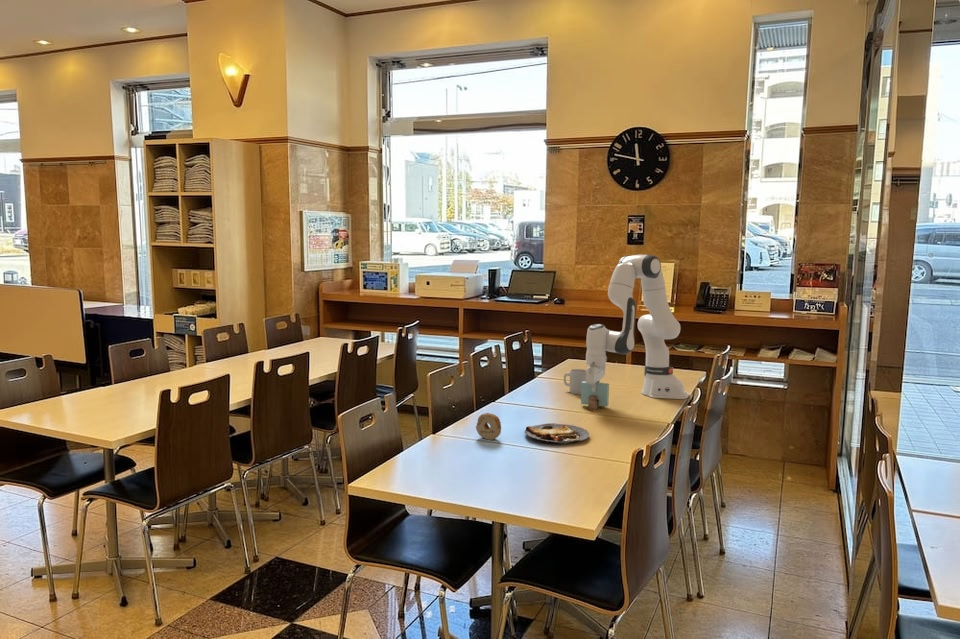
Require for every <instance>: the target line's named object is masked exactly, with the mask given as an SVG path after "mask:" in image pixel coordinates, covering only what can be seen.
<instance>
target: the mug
mask: <svg viewBox="0 0 960 639" xmlns="http://www.w3.org/2000/svg"><path fill="white" fill-rule="evenodd" d="M586 372H587V369H583V368H581V369H580V368H576V369H575V368H573V369H570V370H569V372H566V373H564V375H563V383H564V385H565V386H566V387H569V393H571V394H574V395H581V382H583V381H586ZM567 376H569V382H567V380H566V379H567Z"/></svg>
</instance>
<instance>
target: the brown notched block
mask: <svg viewBox="0 0 960 639" xmlns="http://www.w3.org/2000/svg"><path fill="white" fill-rule="evenodd" d="M599 407H600V406H599V399H597V396H596V395H590V396H589V397H588V405H587V409H588V411H594V410H595V411H596V410H597V409H598V408H599Z"/></svg>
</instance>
